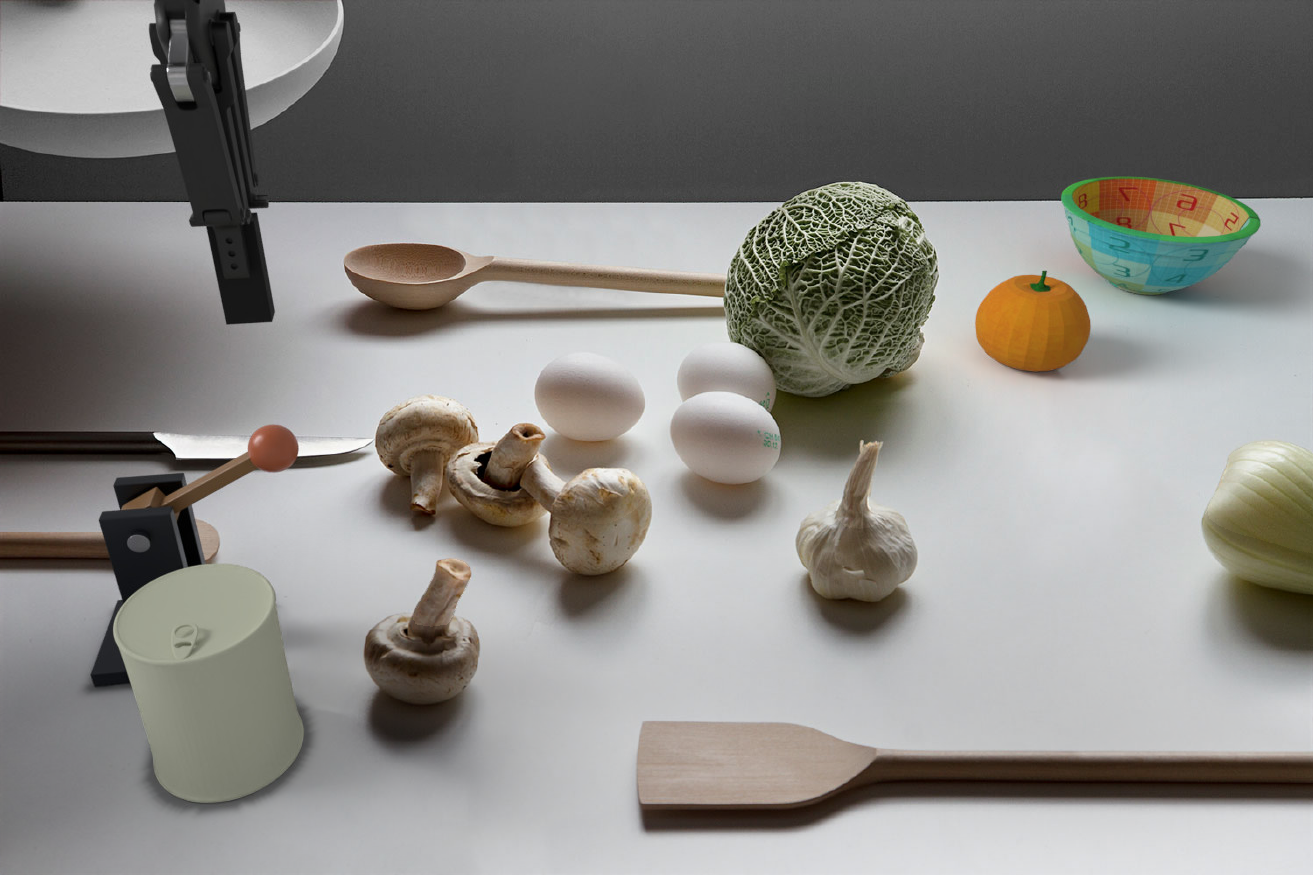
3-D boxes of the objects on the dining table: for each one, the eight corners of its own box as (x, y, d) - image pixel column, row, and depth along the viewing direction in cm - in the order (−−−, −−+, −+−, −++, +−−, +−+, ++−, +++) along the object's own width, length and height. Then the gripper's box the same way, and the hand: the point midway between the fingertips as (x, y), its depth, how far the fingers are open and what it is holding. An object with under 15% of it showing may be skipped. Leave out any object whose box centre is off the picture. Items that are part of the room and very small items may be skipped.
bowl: (1026, 295, 136) (1042, 216, 131) (1066, 237, 153) (1081, 164, 148) (1226, 338, 127) (1252, 255, 122) (1245, 270, 144) (1268, 195, 139)
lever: (310, 442, 77) (281, 407, 75) (306, 467, 74) (275, 432, 72) (152, 528, 78) (120, 497, 77) (142, 556, 76) (108, 524, 74)
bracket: (260, 599, 86) (230, 457, 79) (245, 672, 79) (211, 524, 72) (121, 612, 84) (78, 468, 78) (94, 687, 78) (44, 537, 71)
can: (139, 812, 69) (91, 664, 62) (170, 703, 76) (130, 562, 70) (296, 795, 70) (264, 648, 64) (311, 689, 78) (283, 550, 72)
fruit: (976, 326, 129) (991, 243, 124) (1084, 344, 125) (1104, 259, 120) (962, 371, 119) (978, 283, 114) (1078, 391, 116) (1100, 302, 111)
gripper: (226, -87, 53) (303, 362, 65) (262, -116, 64) (322, 273, 76) (55, -85, 52) (166, 371, 64) (121, -116, 63) (205, 279, 75)
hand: (250, 317), depth 70 cm, fingers closed
